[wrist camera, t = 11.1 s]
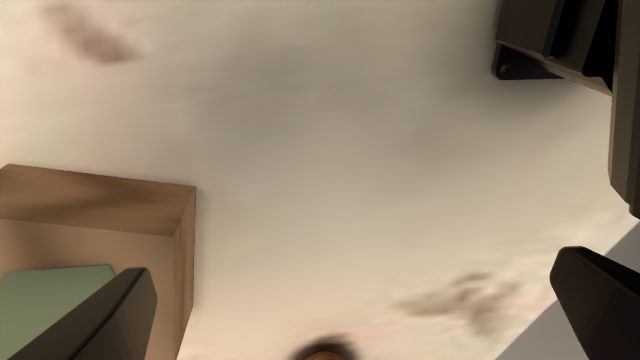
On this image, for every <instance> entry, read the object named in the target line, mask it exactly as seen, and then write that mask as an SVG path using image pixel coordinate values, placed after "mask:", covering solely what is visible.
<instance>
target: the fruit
mask: <svg viewBox="0 0 640 360" xmlns="http://www.w3.org/2000/svg"><path fill="white" fill-rule="evenodd" d="M305 360H348V359H347V358H345V357H343V356H342V355H339V354H337V353H333V352H319V353H315V354H313V355H311V356H309V357H308V358H306V359H305Z"/></svg>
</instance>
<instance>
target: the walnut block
mask: <svg viewBox="0 0 640 360" xmlns="http://www.w3.org/2000/svg"><path fill="white" fill-rule="evenodd" d="M195 207H196V187H192V186H184V185H176V184H168V183H160V182H151V181H143V180H135V179H127V178H119V177H111V176H103V175H95V174H87V173H79V172H71V171H63V170H55V169H47V168H39V167H31V166H22V165H14V164H7V165H6V166H4V167H3V168H1V169H0V279H1V278H2V277H3V276H4V275H5V274H6V273H7V272H18V271H32V270H46V269H60V268H74V267H88V266H102V265H110V267H111V269H112V272H113V274H114V276H116V275H118V274H119V273H120V272H122V271H123V270H124V269H126V268H130V267H147V268H148V269H149V271H150V273H151V276H152V279H153V282H154V286H155V289H156V292H157V297H158V303H157V309H156V313H155V317H154V322H153V326H152V330H151V334H150V339H149V343H148V347H147V352H146V356H145V360H176V359H177V356H178V353H179V350H180V346H181V343H182V340H183V336H184V333H185V330H186V327H187V323H188V320H189V317H190V314H191V310H192V307H193V281H194V244H195Z"/></svg>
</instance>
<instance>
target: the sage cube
mask: <svg viewBox="0 0 640 360" xmlns="http://www.w3.org/2000/svg"><path fill="white" fill-rule="evenodd" d="M114 277H115V276H114V274H113V272H112V269H111V267H110V265H102V266H88V267H74V268H60V269H46V270H32V271H18V272H7V273H6V274H5V275H4V276H3V277H2V278H1V279H0V360H7V359H8V358H9V357H11V356H12V355H13V354H15V353H16V352H17V351H19V350H20V349H21V348H22V347H24V346H25V345H26V344H28V343H29V342H30V341H32V340H33V339H34V338H35V337H37V336H38V335H39V334H41V333H42V332H43V331H45V330H46V329H47V328H49V327H50V326H51V325H52V324H54V323H55V322H56V321H58V320H59V319H60V318H62V317H63V316H64V315H65V314H67V313H68V312H69V311H71V310H72V309H73V308H75V307H76V306H77V305H79V304H80V303H81V302H82V301H84V300H85V299H86V298H88V297H89V296H90V295H92V294H93V293H94V292H95V291H97V290H98V289H99V288H101V287H102V286H103V285H105V284H106V283H107V282H108V281H110V280H111V279H112V278H114Z"/></svg>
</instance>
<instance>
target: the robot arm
mask: <svg viewBox="0 0 640 360" xmlns="http://www.w3.org/2000/svg"><path fill="white" fill-rule="evenodd" d="M496 40H497V41H498V43H497V47H496V52H495V57H494V61H493V66H492V74H493V76H495V77H496V78H498V79H500V80H525V79H564V78H566V79H569V80H571V81H574V82H576V83H579V84H581V85H584V86H586V87H589V88H592V89H594V90H597V91H599V92H602V93H604V94H607V95H609V96H612V107H611V123H610V140H609V156H608V174H609V179H610V185H611V186H612V187H613V188H614V189H615V191H616V192H617V193H618V194H619V195H620V196H621V197H622V199H623V200H624V201H625V202H626V203H628V204H629V212H630V213H631V215H633V216H634V217H636V218H638V219H640V0H503V4H502V9H501V14H500V19H499V23H498V28H497V33H496ZM504 65H506V70H505V71H504V72H503V73H500V70H501V68H502V67H503V66H504ZM550 283H551V286H552V288H553V290H554V292H555V294H556V296H557V298H558V300H559V302H560V304H561V306H562V308H563V310H564V312H565V314H566V316H567V318H568V320H569V322H570V324H571V326H572V328H573V331H574V333H575V335H576V336H577V339H578V341H579V342H580V344H581V346H582V348H583V350H584V352H585V353H586V355H587V357H588V358H589V360H640V273H638V272H636V271H634V270H631V269H630V268H627V267H625V266H623V265H621V264H619V263H617V262H615V261H613V260H611V259H608V258H607V257H604V256H602V255H600V254H598V253H596V252H594V251H592V250H590V249H588V248H585V247H582V246H569V247H563V248H562V249H560V250H559V252H558V255H557V257H556V260H555V262H554V265H553V267H552V270H551V272H550ZM157 303H158V297H157V292H156V289H155V286H154V282H153V279H152V276H151V273H150V271H149V269H148V268H147V267H130V268H126V269H124V270H123V271H122V272H120V273H119V274H118V275H116V276H115V277H114V278H112V279H111V280H110V281H108V282H107V283H106V284H105V285H103V286H102V287H101V288H99V289H98V290H97V291H95V292H94V293H93V294H92V295H90V296H89V297H88V298H86V299H85V300H84V301H82V302H81V303H80V304H79V305H77V306H76V307H75V308H73V309H72V310H71V311H69V312H68V313H67V314H65V315H64V316H63V317H62V318H60V319H59V320H58V321H56V322H55V323H54V324H52V325H51V326H50V327H49V328H47V329H46V330H45V331H43V332H42V333H41V334H39V335H38V336H37V337H35V338H34V339H33V340H32V341H30V342H29V343H28V344H26V345H25V346H24V347H22V348H21V349H20V350H19V351H17V352H16V353H15V354H13V355H12V356H11V357H9V358H8V359H7V360H145V356H146V352H147V347H148V343H149V339H150V334H151V330H152V326H153V322H154V317H155V313H156V309H157Z"/></svg>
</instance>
